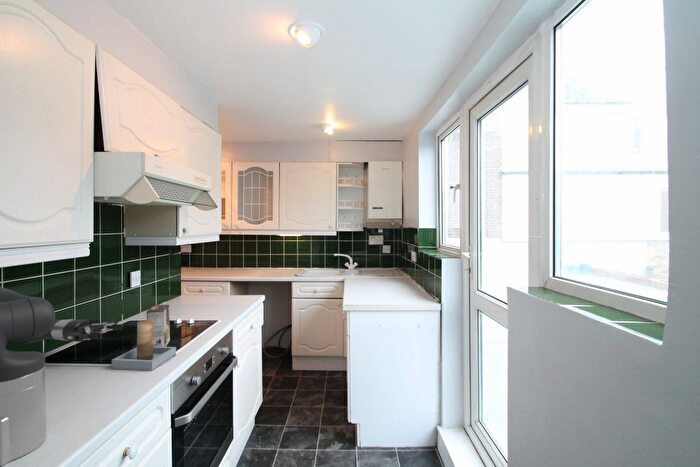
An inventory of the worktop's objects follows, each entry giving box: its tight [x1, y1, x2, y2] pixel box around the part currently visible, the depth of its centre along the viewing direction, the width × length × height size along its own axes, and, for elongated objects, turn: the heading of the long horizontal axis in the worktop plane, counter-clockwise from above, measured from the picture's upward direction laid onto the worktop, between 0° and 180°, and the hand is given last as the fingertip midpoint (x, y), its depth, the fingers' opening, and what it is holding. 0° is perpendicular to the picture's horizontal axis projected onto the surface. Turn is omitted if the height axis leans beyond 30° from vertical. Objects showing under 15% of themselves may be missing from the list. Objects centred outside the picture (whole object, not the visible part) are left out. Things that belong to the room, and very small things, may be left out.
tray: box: [111, 346, 177, 372], centre depth 105 cm, size 12×15×3 cm
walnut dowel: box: [136, 319, 154, 360], centre depth 105 cm, size 5×5×14 cm
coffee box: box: [146, 304, 171, 347], centre depth 119 cm, size 9×6×16 cm
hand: (112, 331), depth 106 cm, fingers open, 8 cm apart
